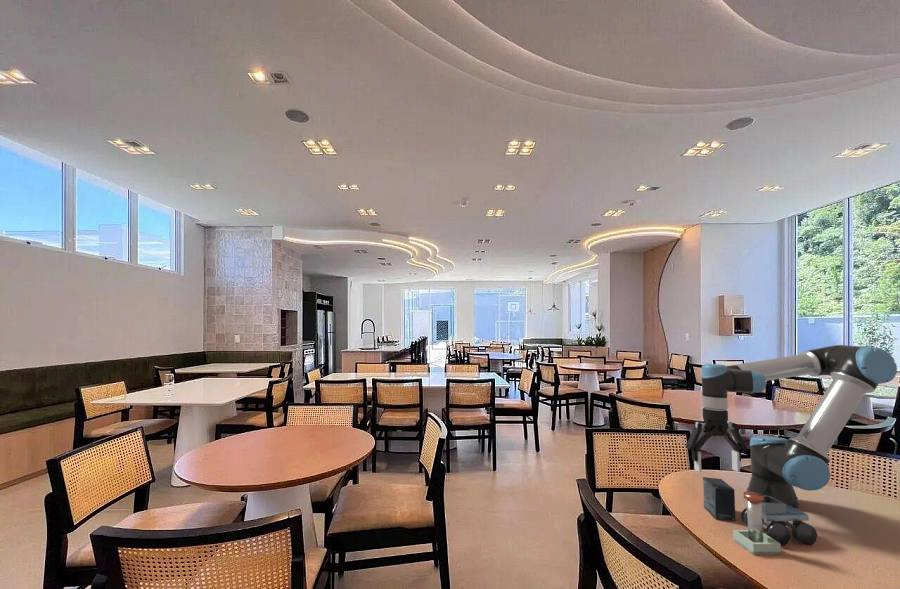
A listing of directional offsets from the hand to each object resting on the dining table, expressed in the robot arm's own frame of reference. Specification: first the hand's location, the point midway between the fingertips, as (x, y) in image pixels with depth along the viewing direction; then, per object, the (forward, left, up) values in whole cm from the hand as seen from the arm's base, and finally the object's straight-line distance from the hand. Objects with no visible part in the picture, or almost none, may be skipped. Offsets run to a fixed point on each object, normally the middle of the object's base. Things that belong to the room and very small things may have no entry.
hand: (716, 470), depth 143 cm
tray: (+4, +22, -14) cm, 26 cm away
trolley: (-8, +15, -14) cm, 22 cm away
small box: (0, 0, -15) cm, 15 cm away
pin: (+4, +22, -14) cm, 26 cm away
